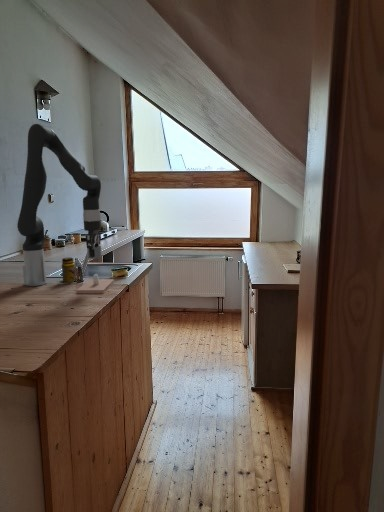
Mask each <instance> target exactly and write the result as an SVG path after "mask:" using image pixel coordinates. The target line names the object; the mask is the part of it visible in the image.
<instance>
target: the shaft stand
mask: <svg viewBox="0 0 384 512" xmlns="http://www.w3.org/2000/svg"><path fill="white" fill-rule="evenodd" d="M114 283H115V279H109V278H108V279H106V278H105V279H99V275H98V273H95V274H93V276H92V279H91V278H90V279H89V280H87V281H86V282H85V283H84V284H83V285H81V286H80V287H78V288H77V289H76V294H104V293H106V292H107V290H108V289H109V288H110V287H111V286H112V285H113V284H114Z"/></svg>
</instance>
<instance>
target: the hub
mask: <svg viewBox="0 0 384 512" xmlns="http://www.w3.org/2000/svg"><path fill="white" fill-rule="evenodd" d="M86 250H87V254H86V255H87V259H91V260H92V259H101V258H102V246H101V245H99V246H94V252H95V257H90V256H89V249H88V248H87V247H86Z"/></svg>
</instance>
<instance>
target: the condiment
mask: <svg viewBox="0 0 384 512" xmlns="http://www.w3.org/2000/svg"><path fill="white" fill-rule="evenodd" d="M61 260H62V261H61V262H62V263H61V273H62V280H57V283H58V284H59V285H65V284H73V283H75V282H74V281H75V280H76V267H75V263H74V258H72V257H63V258H62V259H61Z"/></svg>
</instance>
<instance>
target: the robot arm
mask: <svg viewBox="0 0 384 512" xmlns="http://www.w3.org/2000/svg"><path fill="white" fill-rule="evenodd" d="M44 148H47V149H48V150H50V151H51V152H52V153H53V154H54V155H56V157H57V159H58V162H59V163H60V165H61V167H63V169H64V170H65V171H66V172H67V173H68V174H69V176H71V177H72V178H73V180H74V182H75V184H76V185H77V186H78V187H79V189H81V190H82V191H85V192H86V196H83V199H82V210H83V212H82V213H83V214H82V217H83V218H82V219H83V230H84V231H85V232H86V231H87V235H85V242H86V244H85V245H86V249H87V248H88V249H89V256H90V257H95V252H94V246H101V232H100V230H101V229H102V222H101V221H102V220H101V212H100V202H99V201H100V200H99V199H100V196H101V189H102V183H101V180H100V178H99V176H97V175H95V174H88V173H86V167H85V166H84V164H82V162H80V161H79V160H78V158H77V157H76V156H74V155H73V154H72V152H71V151H70V149H68V148H67V147H66V146H65V144H64V143H63V142H62V141H61V139H60V137H59V136H58V135H57V133H56V132H55V131H54V130H53V129H52V128H51V127H49V126H46V125H43V124H40V123H33V124H32V125H30V127H29V128H28V132H27V153H26V154H27V155H26V156H27V157H26V167H25V175H24V181H23V182H24V183H23V191H22V192H23V193H22V201H21V208H20V211H19V215H18V219H17V224H16V225H17V231H18V233H19V234H20V235H21V236H23V237H25V240H24V243H22V254H23V255H22V257H23V264H24V265H22V273H23V275H22V276H23V285H24V286H28V287H36V286H42V285H46V284H47V271H46V262H45V252H44V244H45V226H44V222H43V220H42V218H40V217H39V216H37V212H38V207H39V205H40V203H41V200H42V199H43V197H44V195H45V192H46V187H47V182H48V180H47V171H46V168H45V164H44V162H43V149H44Z"/></svg>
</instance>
